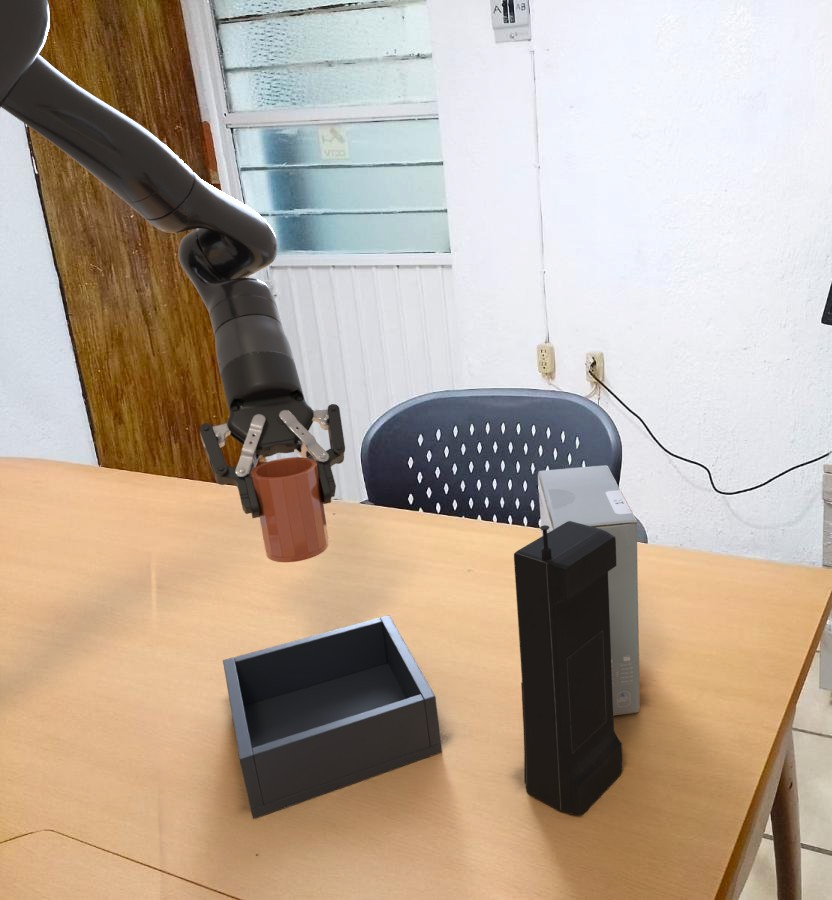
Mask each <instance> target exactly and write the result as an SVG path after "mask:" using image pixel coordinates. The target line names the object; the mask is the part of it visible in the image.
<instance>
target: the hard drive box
mask: <svg viewBox="0 0 832 900" xmlns="http://www.w3.org/2000/svg"><path fill="white" fill-rule="evenodd" d="M537 482H538V483H537V485H538V499H539V501H538V502H539V513H540V515H539V517H540V527H541V526H544V525H547V526H549V529H548V530H547V533H549V532H550V531H552V530H554V529H556V528H557V527H559V526H561V525H562V524H564V523H566V522H568V521H573V522H576V523H580V524H584V525H588V526H591V527H595V528H599V529H602V530H604V531H606V532H608V533H610V534H611V535H613V536H614V537H615V539H616V565H617V566H615V567H614V568H613V569H611V570H610V571H608V587H609V615H610V642H611V670H612V698H613V717H614V716H620V715H628V714H634V713H635V714H636V713H639V712H640V709H641V707H640V706H641V705H640V704H641V703H640V702H641V701H640V700H641V699H640V698H641V696H640V691H641V690H640V639H639V638H640V636H639V635H640V633H639V629H640V628H639V583H638V581H639V580H638V579H639V578H638V577H639V576H638V575H639V572H638V570H639V569H638V520H637V518H636V517H635V515H634V512H633V511H632V509H631V507H630V505H629V502H628V501H627V500H626V497H625V496H624V494H623V492H622V491H621V488H620V487H619V485H618V483H617V481H616V479H615V477H614V475H613V474H612V472H611V470H610V467H609V466H608V465H592V466H579V467H569V468H568V467H567V468H557V469H545V470H539V471H538V473H537ZM540 532H541V533H540V534H541V537H542V536H543V530H541V529H540Z"/></svg>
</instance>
